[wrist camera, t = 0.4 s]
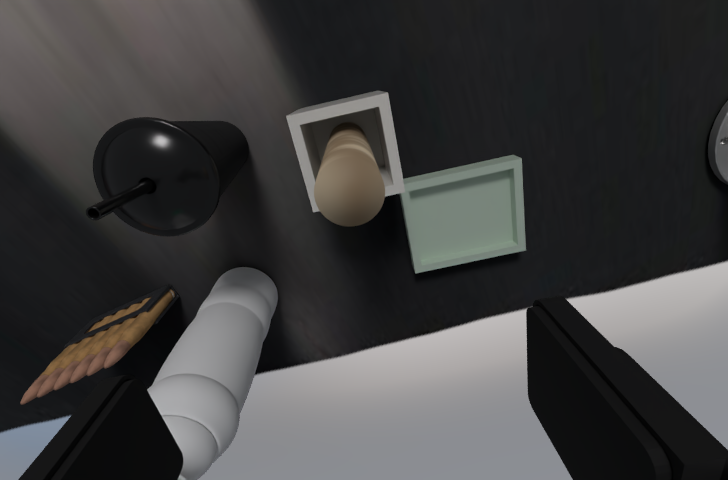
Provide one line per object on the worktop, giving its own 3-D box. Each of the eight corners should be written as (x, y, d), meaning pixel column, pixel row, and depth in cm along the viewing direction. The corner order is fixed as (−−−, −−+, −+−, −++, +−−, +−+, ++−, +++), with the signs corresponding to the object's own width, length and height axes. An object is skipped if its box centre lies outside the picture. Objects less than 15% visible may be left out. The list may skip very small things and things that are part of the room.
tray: (513, 154, 37) (521, 158, 36) (517, 242, 41) (525, 250, 39) (396, 180, 38) (399, 185, 36) (412, 265, 42) (415, 273, 40)
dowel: (362, 118, 34) (377, 150, 18) (370, 156, 36) (390, 218, 19) (324, 126, 35) (305, 166, 18) (334, 164, 36) (324, 232, 19)
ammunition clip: (170, 283, 41) (106, 355, 30) (180, 296, 42) (121, 371, 31) (92, 318, 43) (4, 400, 32) (103, 330, 43) (20, 414, 32)
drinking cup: (165, 145, 36) (-27, 212, 17) (215, 86, 34) (60, 90, 15) (229, 200, 38) (119, 310, 20) (279, 148, 36) (209, 215, 18)
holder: (378, 90, 35) (387, 92, 27) (392, 169, 37) (405, 192, 30) (299, 109, 35) (286, 116, 27) (320, 185, 38) (313, 212, 30)
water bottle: (205, 275, 41) (26, 517, 18) (263, 256, 41) (156, 481, 18) (233, 324, 44) (108, 590, 21) (288, 307, 43) (223, 561, 20)
